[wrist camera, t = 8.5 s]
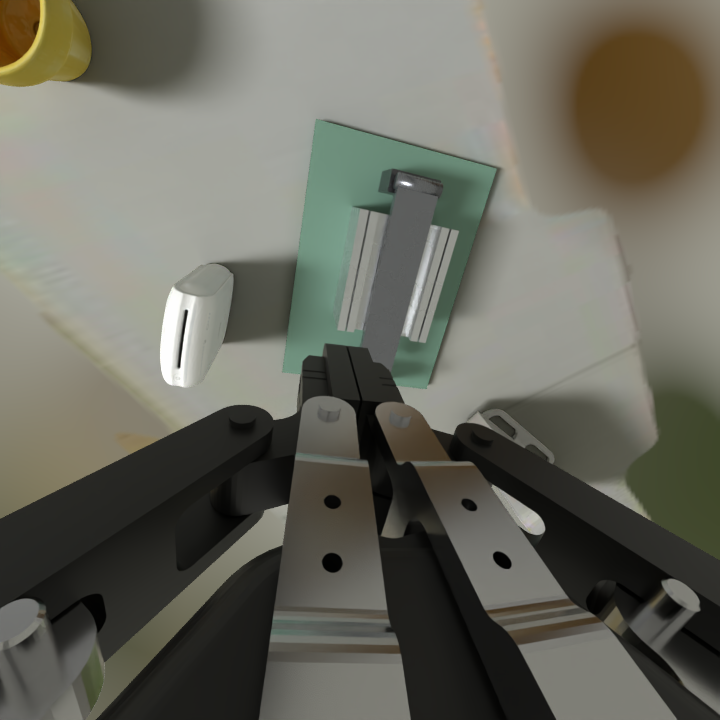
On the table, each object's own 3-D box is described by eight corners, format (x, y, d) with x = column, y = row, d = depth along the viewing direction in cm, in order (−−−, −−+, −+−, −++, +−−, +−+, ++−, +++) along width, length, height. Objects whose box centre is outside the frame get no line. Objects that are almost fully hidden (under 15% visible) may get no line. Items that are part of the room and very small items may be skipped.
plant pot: (142, 84, 32) (83, 43, 24) (39, 125, 33) (-59, 99, 24) (64, -71, 28) (-47, -194, 19) (-56, -23, 28) (-220, -122, 19)
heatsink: (359, 165, 37) (371, 159, 30) (447, 187, 39) (476, 186, 32) (321, 373, 46) (324, 402, 40) (393, 381, 48) (407, 411, 42)
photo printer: (224, 349, 44) (198, 400, 33) (188, 340, 43) (148, 391, 32) (239, 269, 40) (215, 296, 29) (199, 258, 39) (159, 282, 28)
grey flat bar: (395, 172, 33) (399, 171, 31) (439, 183, 34) (444, 183, 32) (351, 373, 41) (353, 379, 40) (387, 378, 42) (390, 383, 41)
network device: (568, 466, 62) (675, 575, 44) (530, 497, 64) (617, 613, 46) (480, 390, 53) (571, 491, 35) (438, 429, 55) (505, 544, 37)
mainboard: (315, 121, 36) (315, 118, 34) (491, 169, 40) (496, 168, 39) (282, 368, 46) (282, 372, 45) (423, 384, 51) (426, 389, 50)
